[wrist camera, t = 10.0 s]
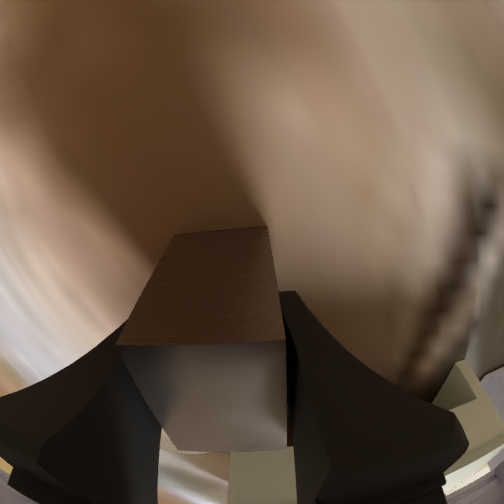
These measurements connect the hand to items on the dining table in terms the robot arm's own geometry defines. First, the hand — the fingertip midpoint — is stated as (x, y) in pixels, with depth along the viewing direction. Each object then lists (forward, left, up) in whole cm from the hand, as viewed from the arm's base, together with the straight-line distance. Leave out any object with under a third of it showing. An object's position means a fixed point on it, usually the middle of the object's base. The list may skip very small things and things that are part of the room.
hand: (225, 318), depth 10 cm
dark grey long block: (0, +5, -2) cm, 6 cm away
